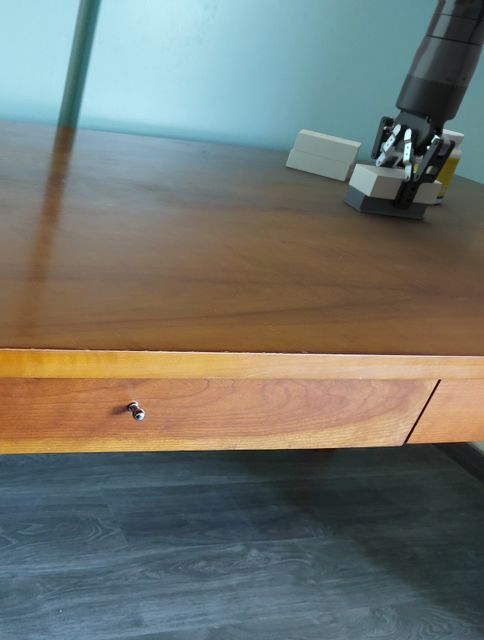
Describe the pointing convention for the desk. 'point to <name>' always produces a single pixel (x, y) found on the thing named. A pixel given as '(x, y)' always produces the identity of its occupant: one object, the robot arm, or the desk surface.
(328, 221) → the desk surface
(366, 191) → the white block
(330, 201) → the desk surface
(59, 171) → the desk surface
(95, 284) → the desk surface
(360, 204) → the dark gray block
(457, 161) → the pill bottle
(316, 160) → the white stack
